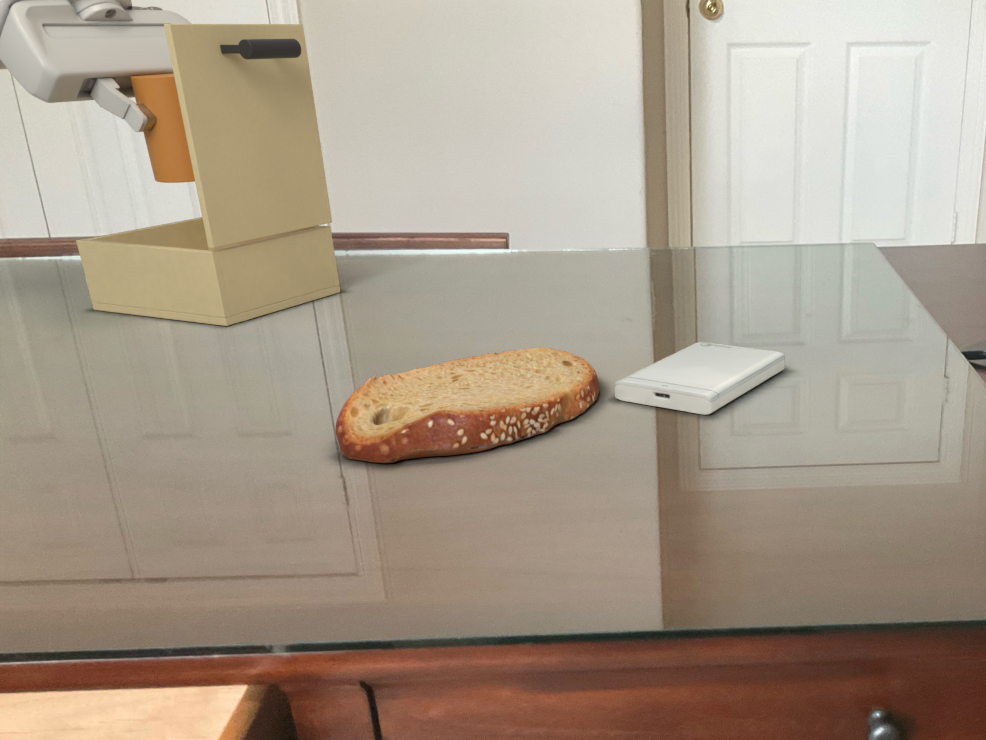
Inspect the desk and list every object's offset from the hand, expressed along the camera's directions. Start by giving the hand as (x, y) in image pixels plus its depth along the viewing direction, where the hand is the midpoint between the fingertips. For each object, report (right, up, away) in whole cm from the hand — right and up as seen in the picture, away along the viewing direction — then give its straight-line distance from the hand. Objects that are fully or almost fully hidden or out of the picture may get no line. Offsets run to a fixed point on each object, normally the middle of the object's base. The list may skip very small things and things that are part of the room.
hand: (178, 123), depth 100 cm
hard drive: (+49, -27, -16) cm, 58 cm away
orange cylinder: (0, -4, +2) cm, 5 cm away
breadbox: (-1, -14, +11) cm, 18 cm away
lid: (+7, -1, +1) cm, 7 cm away
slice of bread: (+33, -30, -22) cm, 50 cm away
